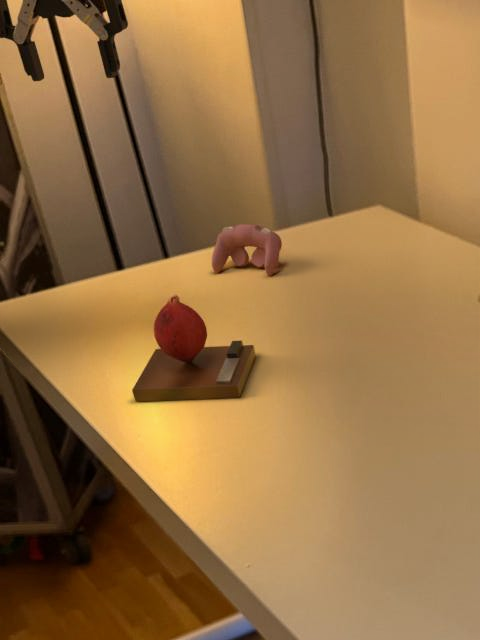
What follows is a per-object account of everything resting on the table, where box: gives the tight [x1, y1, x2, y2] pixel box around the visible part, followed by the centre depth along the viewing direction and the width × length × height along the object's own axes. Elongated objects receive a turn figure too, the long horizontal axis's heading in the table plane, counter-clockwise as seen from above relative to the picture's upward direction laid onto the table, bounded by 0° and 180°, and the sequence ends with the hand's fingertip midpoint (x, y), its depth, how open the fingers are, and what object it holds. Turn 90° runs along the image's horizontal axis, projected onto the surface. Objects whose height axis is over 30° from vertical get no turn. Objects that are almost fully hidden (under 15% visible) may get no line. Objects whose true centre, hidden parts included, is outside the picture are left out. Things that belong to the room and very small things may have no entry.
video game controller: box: [211, 223, 283, 276], centre depth 142 cm, size 10×5×7 cm, turn 76°
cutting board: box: [131, 340, 257, 403], centre depth 115 cm, size 12×11×2 cm
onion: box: [153, 294, 208, 363], centre depth 113 cm, size 6×6×8 cm
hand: (75, 78), depth 113 cm, fingers open, 8 cm apart
